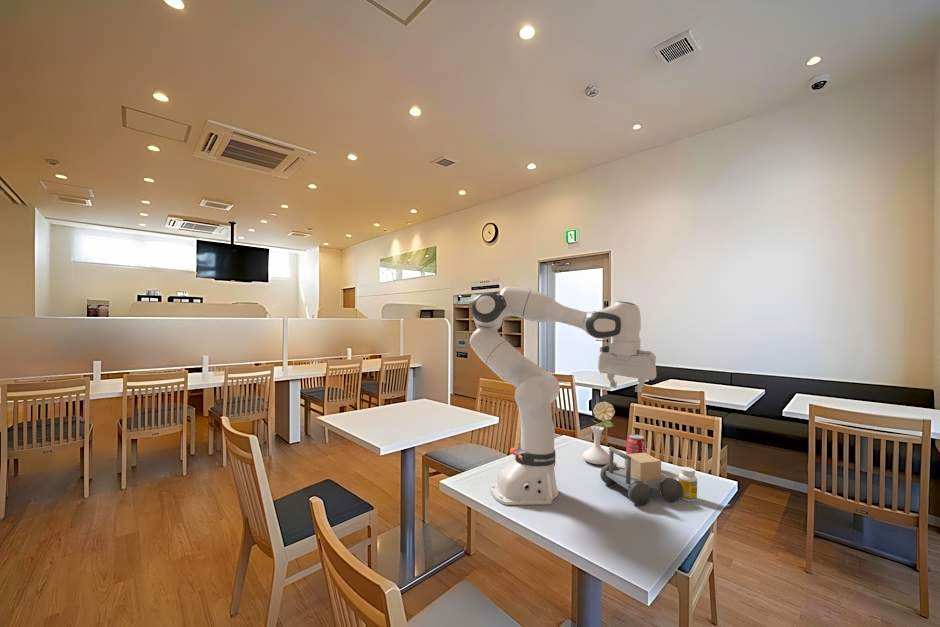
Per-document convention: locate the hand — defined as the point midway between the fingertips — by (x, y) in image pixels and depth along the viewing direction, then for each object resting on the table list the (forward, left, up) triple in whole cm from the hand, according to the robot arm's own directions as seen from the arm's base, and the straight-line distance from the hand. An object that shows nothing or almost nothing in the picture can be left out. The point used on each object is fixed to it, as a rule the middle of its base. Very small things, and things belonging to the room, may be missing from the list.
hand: (625, 389), depth 135 cm
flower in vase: (+6, +24, -34) cm, 42 cm away
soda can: (+18, +17, -34) cm, 42 cm away
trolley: (+4, -3, -34) cm, 34 cm away
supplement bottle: (+17, -10, -34) cm, 40 cm away
